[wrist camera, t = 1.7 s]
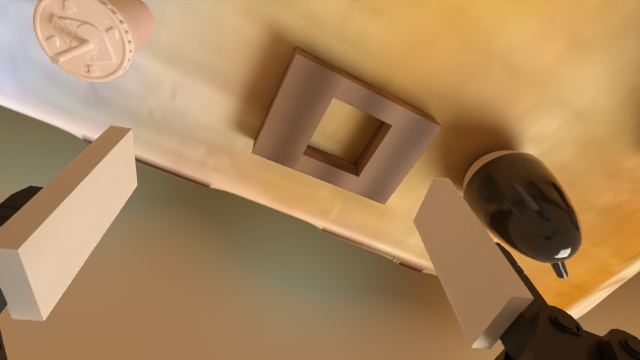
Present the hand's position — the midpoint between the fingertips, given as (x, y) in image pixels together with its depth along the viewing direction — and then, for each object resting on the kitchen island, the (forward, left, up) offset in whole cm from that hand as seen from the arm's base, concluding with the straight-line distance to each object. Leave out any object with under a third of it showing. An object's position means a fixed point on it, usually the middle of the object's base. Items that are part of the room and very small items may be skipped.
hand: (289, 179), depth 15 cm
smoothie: (-8, -13, -24) cm, 29 cm away
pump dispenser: (+23, +20, -24) cm, 39 cm away
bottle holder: (+10, +3, -24) cm, 26 cm away
